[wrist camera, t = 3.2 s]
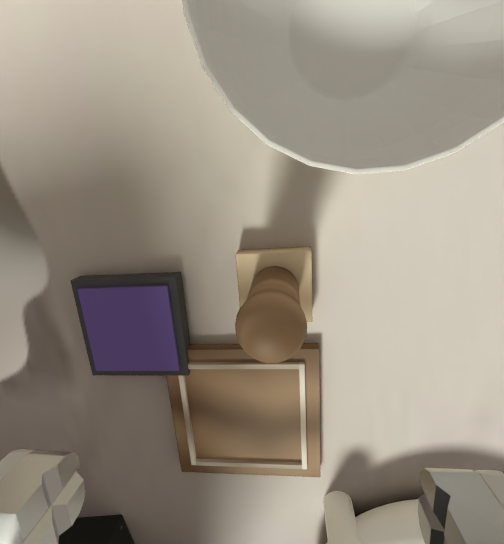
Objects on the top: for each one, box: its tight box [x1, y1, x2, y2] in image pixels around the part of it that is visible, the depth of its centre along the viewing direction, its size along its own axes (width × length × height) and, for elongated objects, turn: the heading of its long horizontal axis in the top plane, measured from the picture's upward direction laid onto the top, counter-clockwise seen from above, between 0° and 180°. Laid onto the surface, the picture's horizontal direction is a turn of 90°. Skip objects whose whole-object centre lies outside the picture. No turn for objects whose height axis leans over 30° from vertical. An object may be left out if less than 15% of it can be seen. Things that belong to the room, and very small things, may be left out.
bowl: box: [182, 0, 504, 174], centre depth 15 cm, size 16×16×7 cm
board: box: [166, 344, 320, 477], centre depth 26 cm, size 12×12×1 cm
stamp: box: [235, 247, 312, 363], centre depth 19 cm, size 5×5×9 cm
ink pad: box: [71, 272, 190, 376], centre depth 24 cm, size 8×8×2 cm
